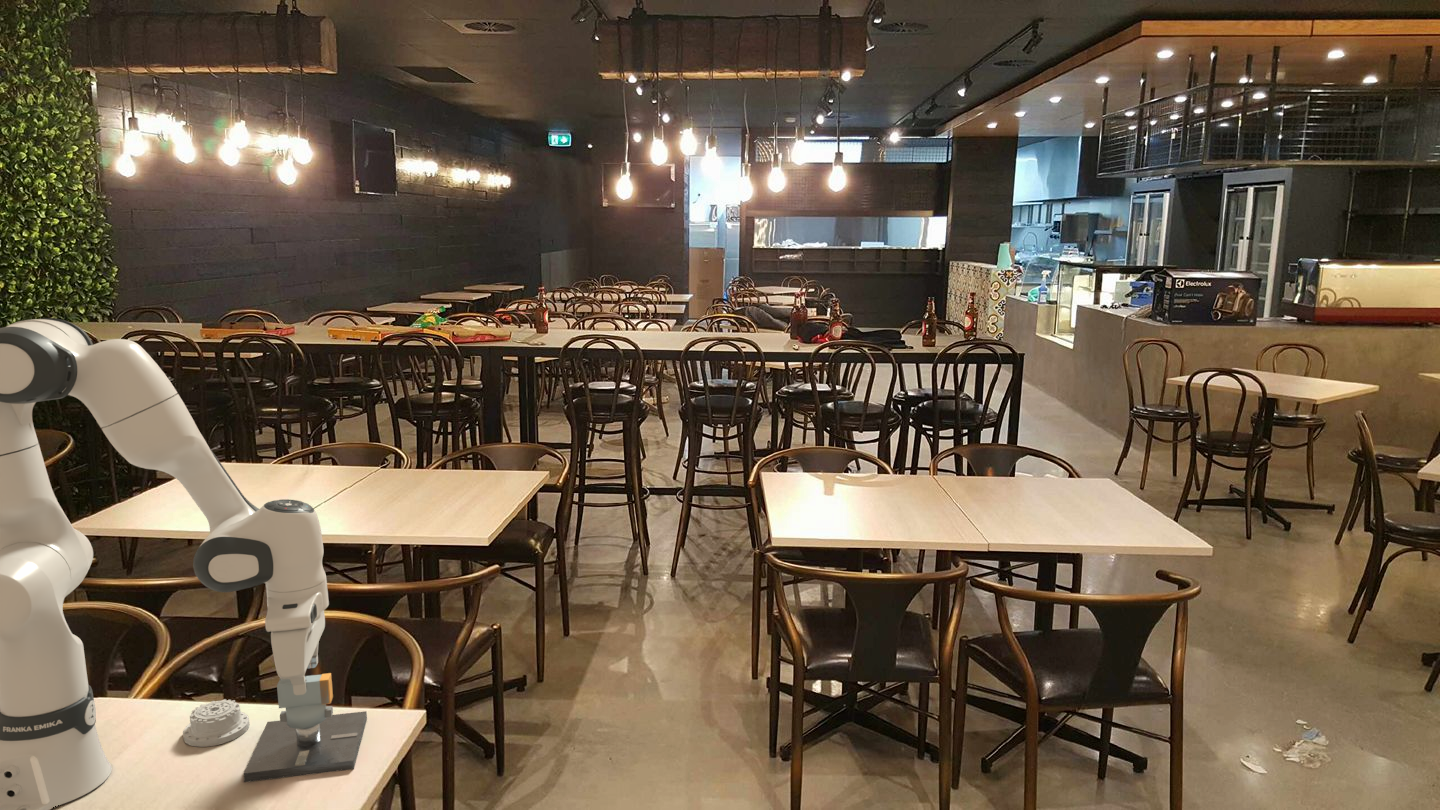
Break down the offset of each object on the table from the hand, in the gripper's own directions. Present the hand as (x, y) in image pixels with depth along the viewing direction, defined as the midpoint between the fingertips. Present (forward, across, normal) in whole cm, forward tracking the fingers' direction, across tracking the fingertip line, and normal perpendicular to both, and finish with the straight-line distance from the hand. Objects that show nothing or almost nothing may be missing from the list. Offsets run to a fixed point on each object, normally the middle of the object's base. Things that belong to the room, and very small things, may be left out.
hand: (306, 679), depth 152 cm
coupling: (+7, 0, -1) cm, 7 cm away
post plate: (+12, 0, -1) cm, 12 cm away
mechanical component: (+12, -9, -17) cm, 23 cm away
